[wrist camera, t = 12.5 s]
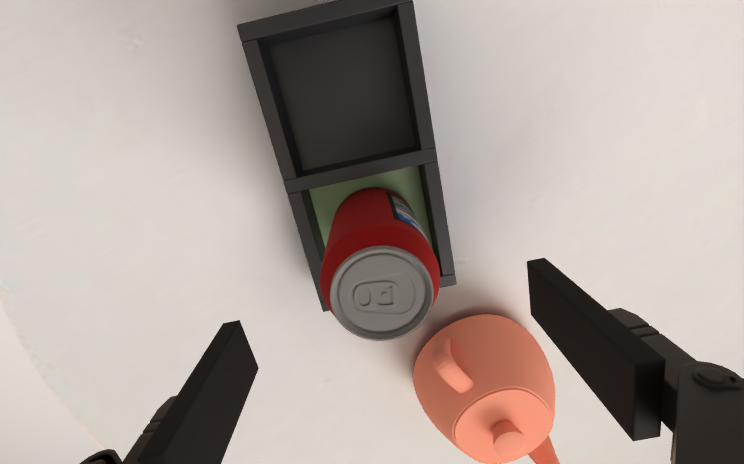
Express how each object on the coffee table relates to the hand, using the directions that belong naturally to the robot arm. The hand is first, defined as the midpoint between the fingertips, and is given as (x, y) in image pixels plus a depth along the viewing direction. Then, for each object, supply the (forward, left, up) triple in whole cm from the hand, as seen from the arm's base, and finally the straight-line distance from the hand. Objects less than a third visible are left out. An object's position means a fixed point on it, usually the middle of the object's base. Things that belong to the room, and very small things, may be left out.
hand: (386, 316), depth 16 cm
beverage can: (0, 0, -14) cm, 14 cm away
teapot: (+17, +7, -15) cm, 24 cm away
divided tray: (-5, 0, -15) cm, 16 cm away
